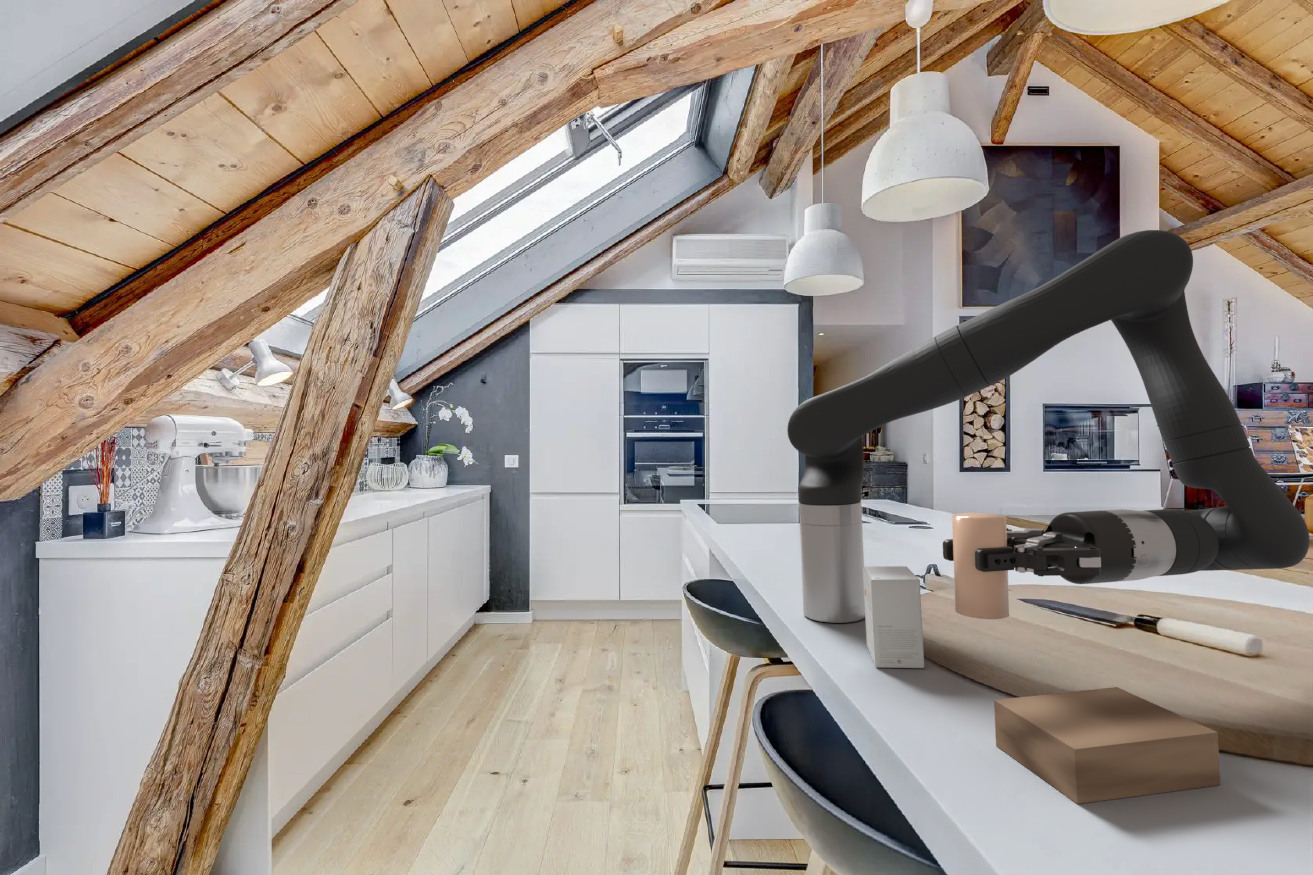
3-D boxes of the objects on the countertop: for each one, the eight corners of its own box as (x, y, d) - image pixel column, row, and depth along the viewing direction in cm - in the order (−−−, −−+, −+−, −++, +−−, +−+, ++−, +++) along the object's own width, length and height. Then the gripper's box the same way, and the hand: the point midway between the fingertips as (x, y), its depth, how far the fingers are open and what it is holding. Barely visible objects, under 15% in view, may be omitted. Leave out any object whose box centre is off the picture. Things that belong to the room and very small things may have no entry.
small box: (925, 670, 74) (921, 579, 74) (874, 668, 75) (870, 579, 75) (911, 647, 82) (908, 565, 82) (866, 646, 83) (862, 565, 83)
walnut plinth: (996, 745, 56) (993, 699, 56) (1118, 731, 57) (1116, 686, 57) (1077, 803, 47) (1074, 749, 47) (1220, 784, 48) (1217, 732, 48)
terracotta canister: (945, 607, 68) (942, 514, 68) (988, 604, 69) (985, 511, 69) (974, 620, 63) (971, 520, 63) (1020, 617, 64) (1017, 517, 64)
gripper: (1056, 503, 75) (921, 510, 73) (1169, 519, 61) (1006, 529, 58) (1058, 566, 75) (923, 576, 73) (1172, 597, 61) (1008, 610, 59)
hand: (961, 555), depth 66 cm, fingers closed on terracotta canister, 5 cm apart
